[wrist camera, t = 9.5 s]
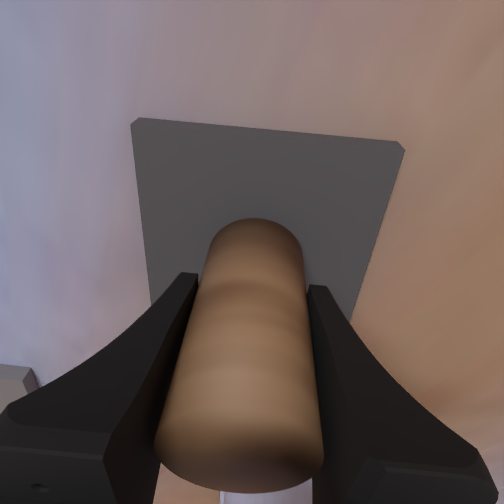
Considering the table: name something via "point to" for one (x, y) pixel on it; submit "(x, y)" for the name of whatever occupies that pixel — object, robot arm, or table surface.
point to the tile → (15, 383)
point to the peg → (245, 370)
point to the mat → (261, 196)
